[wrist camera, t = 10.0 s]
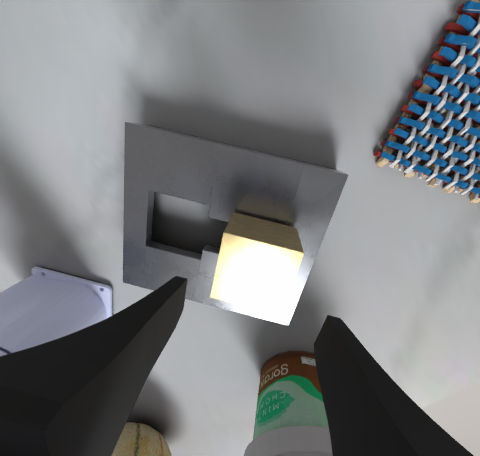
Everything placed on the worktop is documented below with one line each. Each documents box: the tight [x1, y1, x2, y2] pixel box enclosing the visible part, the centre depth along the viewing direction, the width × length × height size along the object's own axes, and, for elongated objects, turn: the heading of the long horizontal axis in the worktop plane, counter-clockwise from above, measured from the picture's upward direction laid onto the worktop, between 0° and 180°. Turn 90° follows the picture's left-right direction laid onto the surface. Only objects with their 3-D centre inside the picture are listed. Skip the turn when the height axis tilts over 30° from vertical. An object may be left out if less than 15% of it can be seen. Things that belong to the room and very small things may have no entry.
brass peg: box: [210, 212, 304, 316], centre depth 17 cm, size 5×5×8 cm
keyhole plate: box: [123, 122, 348, 326], centre depth 20 cm, size 16×14×3 cm
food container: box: [244, 351, 333, 456], centre depth 22 cm, size 12×6×10 cm, turn 151°
